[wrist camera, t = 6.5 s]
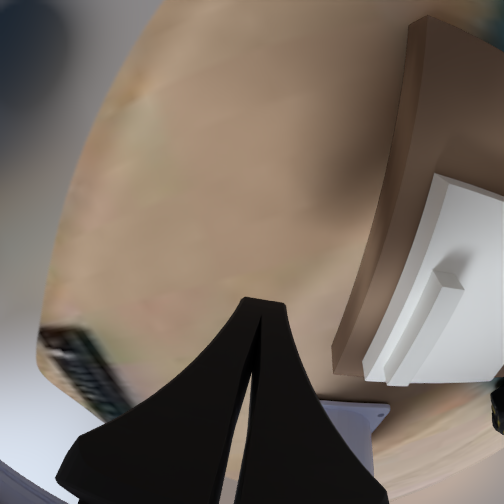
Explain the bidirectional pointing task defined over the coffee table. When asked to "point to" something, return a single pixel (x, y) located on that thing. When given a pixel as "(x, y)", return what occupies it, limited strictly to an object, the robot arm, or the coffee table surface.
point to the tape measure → (498, 409)
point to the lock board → (426, 164)
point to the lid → (447, 294)
